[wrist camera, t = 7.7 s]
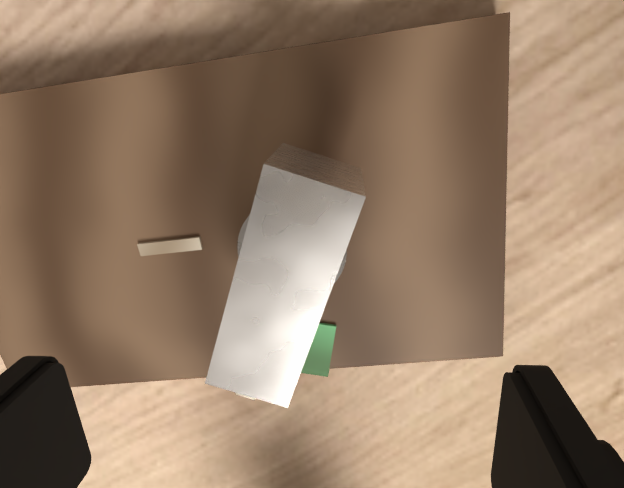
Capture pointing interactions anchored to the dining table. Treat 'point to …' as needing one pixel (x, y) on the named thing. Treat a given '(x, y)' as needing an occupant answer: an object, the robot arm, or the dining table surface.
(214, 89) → the board
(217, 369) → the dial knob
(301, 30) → the dining table surface
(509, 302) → the dining table surface
